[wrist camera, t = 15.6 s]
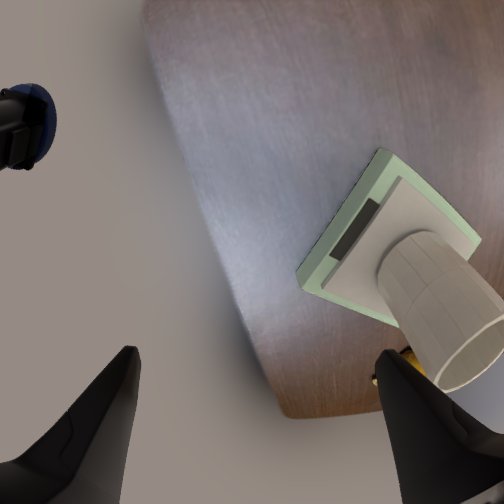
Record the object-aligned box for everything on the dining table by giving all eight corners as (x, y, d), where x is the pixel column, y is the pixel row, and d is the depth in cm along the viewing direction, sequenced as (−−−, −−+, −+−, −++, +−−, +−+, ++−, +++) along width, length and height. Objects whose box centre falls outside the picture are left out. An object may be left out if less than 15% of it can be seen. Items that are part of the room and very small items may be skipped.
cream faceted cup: (357, 283, 21) (412, 390, 13) (411, 212, 18) (502, 299, 10) (407, 307, 23) (458, 395, 15) (454, 249, 20) (525, 326, 12)
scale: (294, 272, 24) (301, 294, 21) (379, 146, 19) (398, 155, 16) (399, 317, 28) (410, 335, 25) (469, 229, 23) (485, 242, 20)
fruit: (365, 384, 34) (372, 406, 31) (395, 343, 30) (407, 366, 27) (409, 379, 36) (417, 398, 32) (439, 341, 31) (451, 361, 28)
